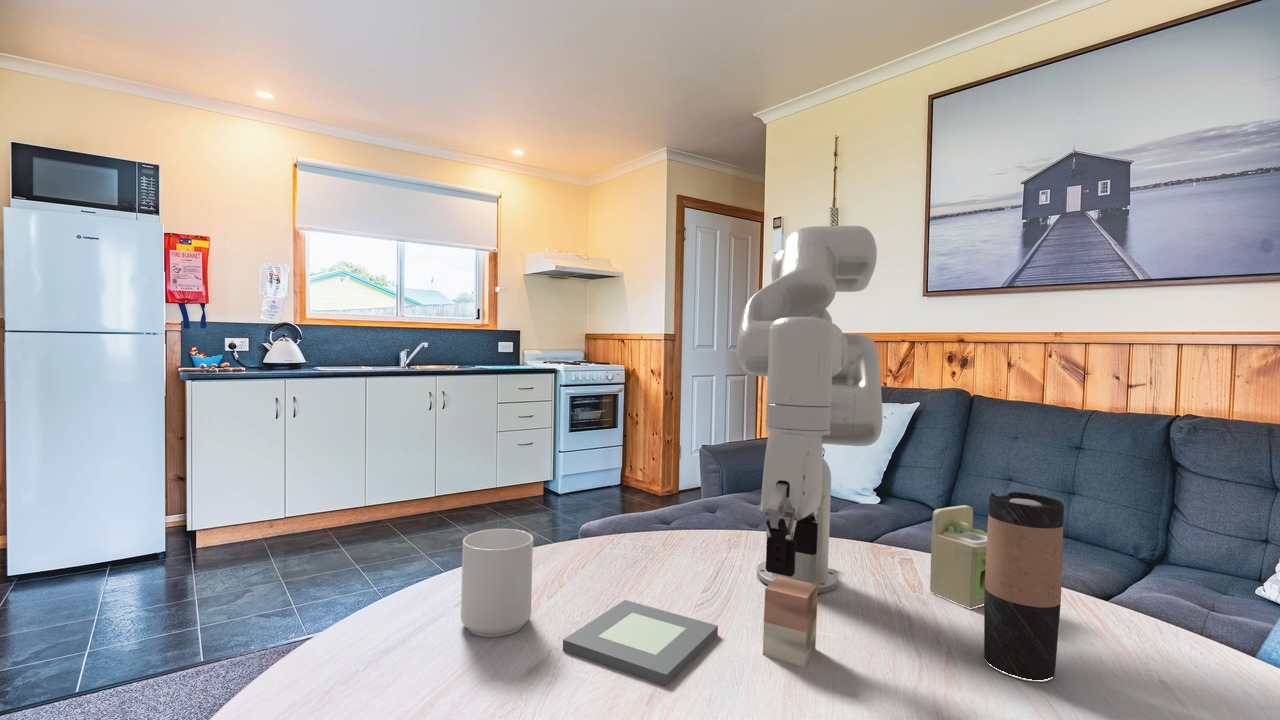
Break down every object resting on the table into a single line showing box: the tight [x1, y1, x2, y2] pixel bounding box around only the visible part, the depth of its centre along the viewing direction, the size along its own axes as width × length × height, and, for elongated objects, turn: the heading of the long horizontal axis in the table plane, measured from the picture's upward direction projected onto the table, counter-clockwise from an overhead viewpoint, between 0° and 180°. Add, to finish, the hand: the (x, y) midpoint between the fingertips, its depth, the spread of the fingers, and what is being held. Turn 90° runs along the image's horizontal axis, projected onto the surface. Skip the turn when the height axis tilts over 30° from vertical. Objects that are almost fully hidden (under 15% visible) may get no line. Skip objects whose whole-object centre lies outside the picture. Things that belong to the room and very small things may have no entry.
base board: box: [562, 599, 719, 686], centre depth 75 cm, size 14×14×1 cm
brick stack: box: [762, 576, 819, 668], centre depth 74 cm, size 5×5×8 cm
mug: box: [460, 528, 534, 638], centre depth 80 cm, size 12×9×11 cm
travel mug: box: [983, 491, 1065, 680], centre depth 72 cm, size 8×8×20 cm
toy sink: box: [929, 504, 987, 608], centre depth 92 cm, size 9×7×13 cm
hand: (792, 562), depth 73 cm, fingers open, 9 cm apart
